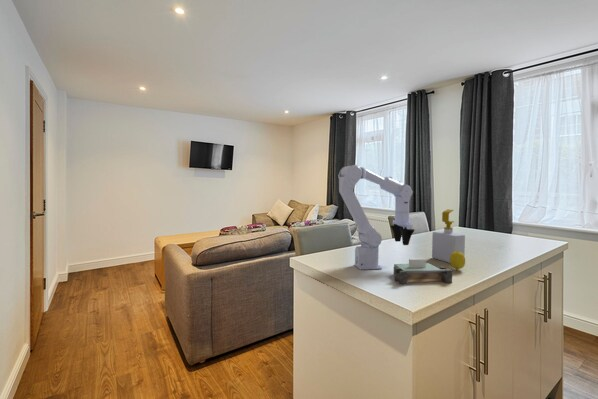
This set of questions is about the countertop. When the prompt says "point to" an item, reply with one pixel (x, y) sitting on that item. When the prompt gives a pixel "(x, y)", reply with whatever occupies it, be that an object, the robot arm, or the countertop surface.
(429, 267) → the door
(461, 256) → the lemon
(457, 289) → the countertop surface
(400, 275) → the brown wooden tray
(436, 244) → the soap bottle
